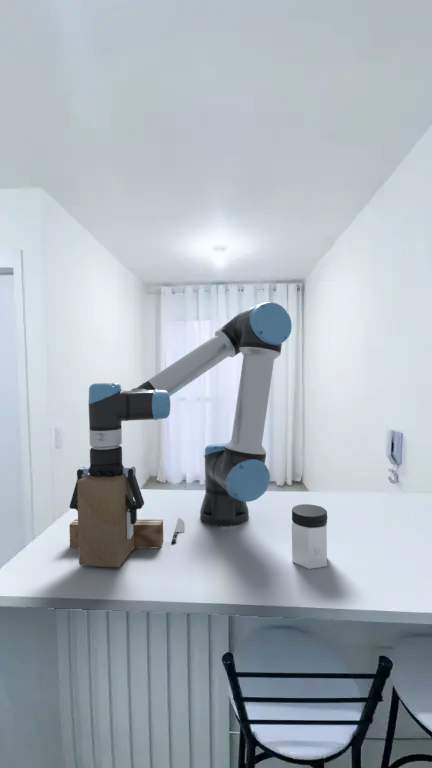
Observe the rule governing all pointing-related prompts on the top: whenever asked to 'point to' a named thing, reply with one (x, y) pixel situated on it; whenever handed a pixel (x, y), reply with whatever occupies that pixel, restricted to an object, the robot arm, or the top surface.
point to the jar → (309, 536)
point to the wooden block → (103, 520)
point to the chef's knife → (178, 529)
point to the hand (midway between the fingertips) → (107, 536)
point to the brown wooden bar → (144, 533)
